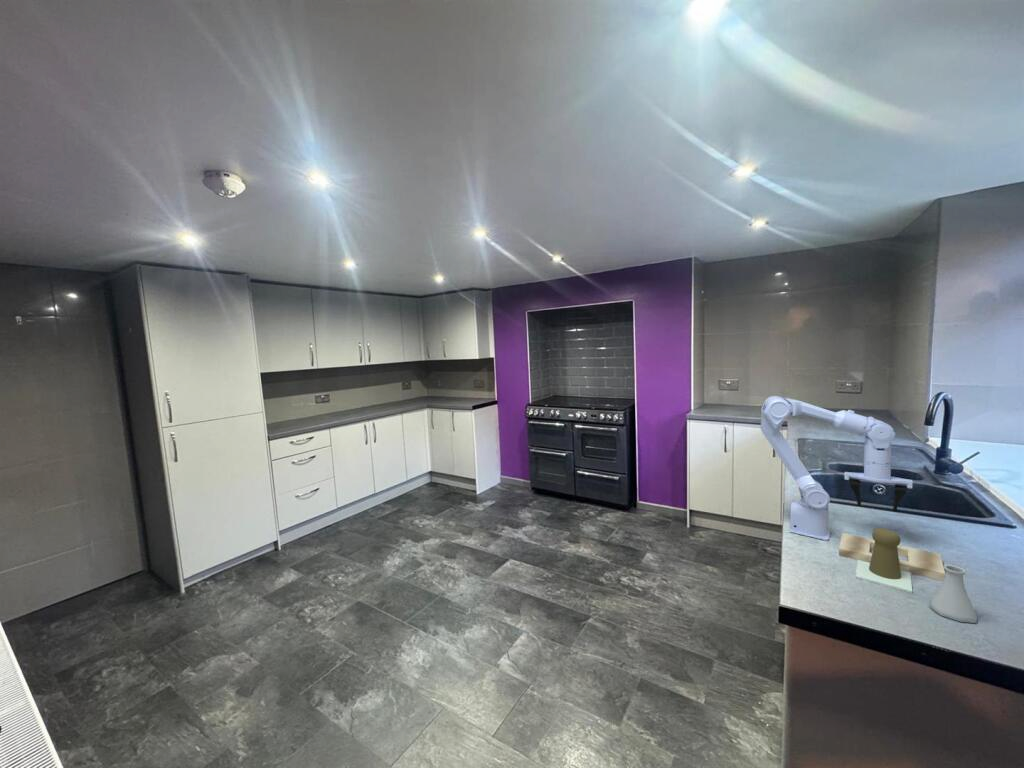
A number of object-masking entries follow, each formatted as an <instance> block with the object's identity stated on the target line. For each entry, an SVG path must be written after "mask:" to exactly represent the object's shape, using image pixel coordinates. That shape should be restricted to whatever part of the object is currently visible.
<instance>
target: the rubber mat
mask: <svg viewBox="0 0 1024 768" xmlns="http://www.w3.org/2000/svg"><path fill="white" fill-rule="evenodd" d="M869 566H870V563H869V562H864V561H860V560H857V563H856V571H855V579H859V580H862V581H865V582H869V583H873V584H877V585H881V586H883V587H884V586H885V587H888V588H891V589H896V590H899V591H903V592H906V593H910V594H913V586H912V577H911V573H909V572H905V571H901V570H900V571H901V578H900V579H887V578H884V577H880V576H878V575H876V574H874V573H872V572H871V571H870V570H869Z"/></svg>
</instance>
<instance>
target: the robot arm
mask: <svg viewBox="0 0 1024 768" xmlns="http://www.w3.org/2000/svg"><path fill="white" fill-rule="evenodd" d="M760 410H761V413H760V416H761V417H760V430H761V433H762V435H763V436H764V437H765V438H766V440H767V442H768V443H769V444H770V446H771V447H772V448H773V450H774V451H775V453H776V454H777V456H778V457H779V459H780V461H781V463H783V465H784V466H785V467H786V469H787V471H788V472H789V474H790V475H791V476H792V478H793V479H794V481H795V482H796V484H797V485H798V491H799V493H800V495H801V496H802V497H801V498H800V499H799V501H794V500H793V501H792V502H791V504H790V521H789V524H790V527H789V532H790V533H792V534H797V535H801V536H806V537H809V538H815V539H819V540H823V541H829V538H830V535H831V533H832V532H831V529H829V505H830V502H831V497H830V495H829V493H828V492H827V491H826V490H825V489H824V487H823V485H822V484H821V483H820V482H818V480H817V481H816V480H815V479H814V478H813V476H811V473H810V472H809V471H808V469H807V468H806V466H805V465H804V464H803V462H802V460H801V459H800V458H799V457H798V455H797V454H796V452H795V451H794V449H793V448H792V447H791V444H790V443H789V442H788V441H787V439H786V437H785V436H784V435H783V433H782V432H781V428H782V425H783V424H784V421H785V420H787V419H788V417H790V416H792V417H796V416H800V415H804V416H809V417H812V418H816V419H819V420H822V421H826V422H830V423H831V424H832V425H833V427H834V428H835V429H838V430H841V431H844V432H846V433H850V434H853V435H856V436H861V437H863V436H864V445H863V448H864V449H863V452H864V453H863V456H864V457H863V465H864V466H863V472H853V471H852V472H850V471H844V475H843V476H844V478H843V479H844V480H845V481H848V484H849V486H850V488H851V489H852V491H853V494H854V495H855V498H856V504H857V506H860V507H861V506H862V496H861V495H862V494H861V482H867V483H873V484H880V485H887V486H888V485H889V486H893V487H894V493H893V495H894V497H893V504H892V506H893V507H892V509H893V512H897V511H898V506H899V504H900V502H901V501H902V499H903V497H904V496H905V494H906V493H907V491H908V489H913V483H914V482H913V480H912V479H907V478H902V477H896V476H892V475H891V474H892V473H891V472H892V471H891V469H892V465H891V464H892V447H891V446H892V445H891V443H892V440H894V439H895V437H896V432H894V428H893V427H892V425H890V424H888V423H886V422H884V421H882V420H878V418H874V417H873V416H868V417H867V416H865V415H861V414H858V413H855V411H854V410H851V409H848V410H844V409H843V410H839V411H837V412H835V411H832V410H829V409H826V408H822V407H820V406H816V405H813V404H811V403H809V402H808V403H807V402H804V401H801V400H798V399H793V398H788V397H781V396H779V395H772V396H769V397H767V398H766V399H765V401H764V402H763V404H762V407H761V409H760Z"/></svg>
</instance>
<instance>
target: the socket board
mask: <svg viewBox="0 0 1024 768" xmlns="http://www.w3.org/2000/svg"><path fill="white" fill-rule="evenodd" d="M839 543H840V544H839V546H838V556H839V557H844V558H847V559H852V560H856V561H858V560H860V561H864V562H869V563H870V561H871V557H872V552H870V550H873V548H874V543H875V541H874V539H873V538H872V539H871V538H867V537H863V536H857V535H853V534H849V533H844V532H842V533H841V538H840V542H839ZM897 550H898V556H900V557H906V558H907V559H906V560H904V559H900V558H899V564H900V570H901V571H905V572H909V573H910V574H913V575H917V576H921V577H926V578H929V579H933V580H938V581H941V582H943V581H944V578H945V574H946V570H945V569H944V564H943V560H942V556H941V553H937V552H932V551H927V550H923V549H918V548H915V547H914V548H913V547H909V546H904V545H900V544H899V545H898V546H897Z"/></svg>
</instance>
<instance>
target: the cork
mask: <svg viewBox="0 0 1024 768" xmlns="http://www.w3.org/2000/svg"><path fill="white" fill-rule="evenodd" d="M871 536H872V540H874V541H875V543H874V548H873V549H872V552H871V553H872V557H871V561H870V566H869V570H870V571H871V572H872V573H874V574H876V575H878V576H880V577H884V578H887V579H900V578H901V571H900V564H899V559H900V558H899V555H898V550H897V546H898V545H900V544H901V536H900V534H899V533H897V532H896V531H894V530H891V529H888V528H880V527H878V528H875V529H874V530H873V531H872V533H871Z"/></svg>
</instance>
